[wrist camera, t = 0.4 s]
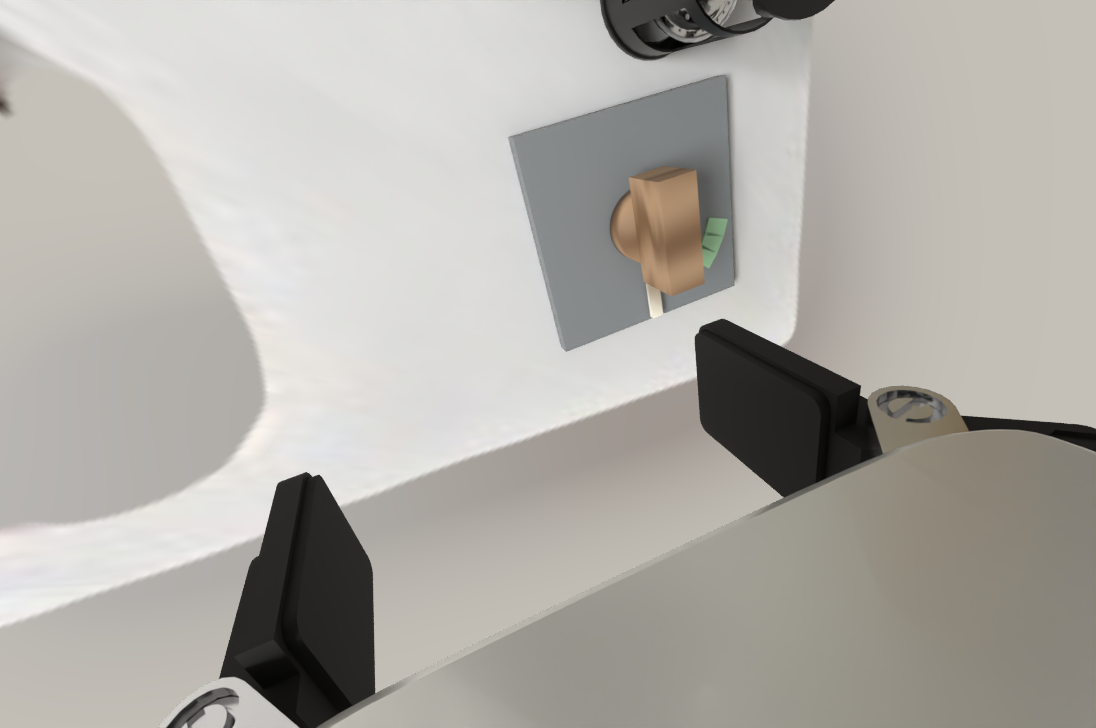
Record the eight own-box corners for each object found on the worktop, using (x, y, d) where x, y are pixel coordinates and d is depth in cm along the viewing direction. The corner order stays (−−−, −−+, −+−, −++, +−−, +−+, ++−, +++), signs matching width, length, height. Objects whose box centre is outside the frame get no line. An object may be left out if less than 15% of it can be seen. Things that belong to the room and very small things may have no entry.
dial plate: (508, 137, 41) (513, 137, 40) (715, 76, 45) (727, 74, 44) (561, 346, 52) (567, 352, 50) (725, 282, 56) (735, 286, 54)
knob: (601, 181, 44) (639, 188, 38) (667, 159, 45) (714, 163, 39) (625, 325, 51) (660, 350, 45) (682, 303, 52) (723, 325, 46)
